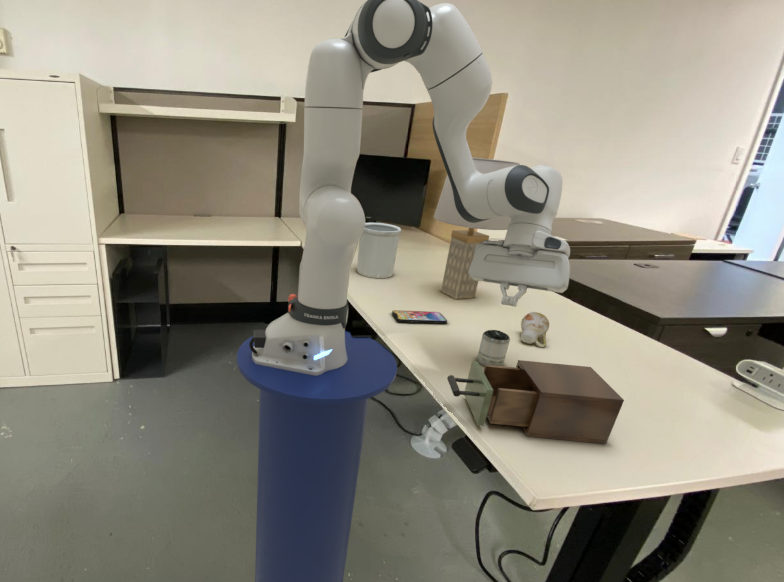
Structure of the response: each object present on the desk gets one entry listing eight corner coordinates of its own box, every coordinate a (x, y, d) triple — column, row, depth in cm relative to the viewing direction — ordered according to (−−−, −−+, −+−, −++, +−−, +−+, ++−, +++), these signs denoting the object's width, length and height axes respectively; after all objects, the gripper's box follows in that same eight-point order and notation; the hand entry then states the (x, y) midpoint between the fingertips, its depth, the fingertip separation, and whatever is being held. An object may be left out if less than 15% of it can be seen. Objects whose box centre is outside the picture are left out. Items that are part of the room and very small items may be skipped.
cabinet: (526, 436, 86) (541, 392, 82) (506, 400, 98) (517, 359, 94) (606, 444, 86) (624, 400, 82) (576, 407, 98) (590, 366, 93)
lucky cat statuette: (512, 343, 126) (517, 307, 127) (521, 349, 134) (526, 315, 135) (541, 345, 122) (546, 308, 123) (549, 351, 129) (554, 316, 130)
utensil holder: (387, 281, 168) (394, 233, 161) (349, 273, 174) (354, 226, 166) (399, 272, 180) (406, 226, 173) (363, 265, 186) (368, 220, 178)
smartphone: (448, 321, 134) (398, 319, 132) (447, 324, 135) (397, 322, 132) (439, 311, 141) (391, 310, 139) (438, 314, 141) (391, 313, 139)
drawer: (451, 423, 87) (459, 387, 84) (440, 391, 97) (447, 358, 94) (550, 432, 86) (562, 397, 83) (528, 400, 97) (539, 367, 94)
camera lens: (495, 356, 117) (503, 328, 114) (507, 368, 111) (516, 339, 108) (472, 356, 116) (479, 327, 113) (483, 368, 111) (490, 338, 107)
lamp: (407, 284, 166) (428, 154, 148) (463, 281, 176) (489, 158, 158) (450, 310, 146) (481, 162, 127) (511, 304, 155) (548, 165, 137)
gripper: (474, 234, 104) (457, 293, 103) (576, 243, 92) (557, 310, 92) (481, 243, 109) (465, 300, 109) (578, 253, 98) (560, 317, 97)
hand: (508, 305), depth 100 cm, fingers closed
